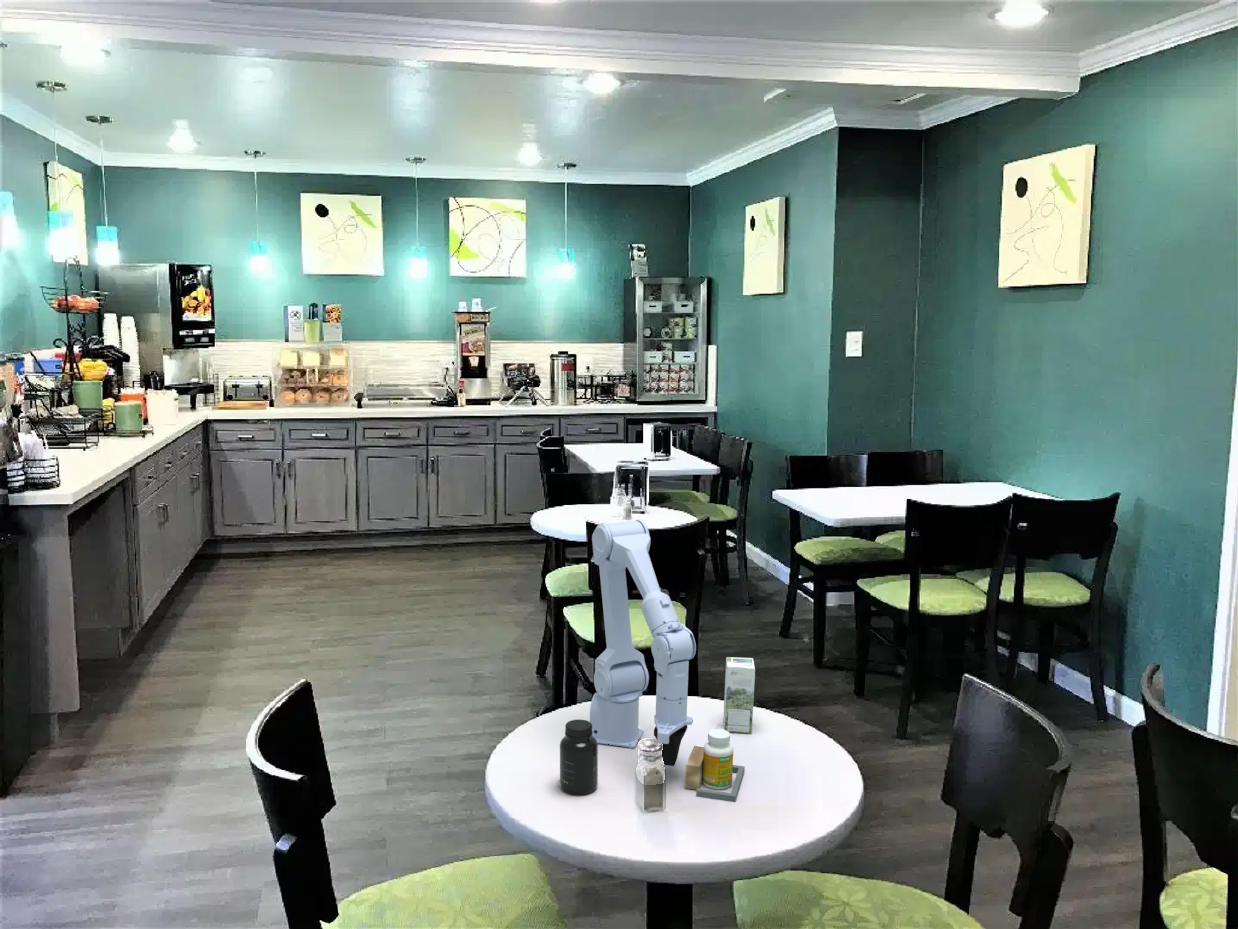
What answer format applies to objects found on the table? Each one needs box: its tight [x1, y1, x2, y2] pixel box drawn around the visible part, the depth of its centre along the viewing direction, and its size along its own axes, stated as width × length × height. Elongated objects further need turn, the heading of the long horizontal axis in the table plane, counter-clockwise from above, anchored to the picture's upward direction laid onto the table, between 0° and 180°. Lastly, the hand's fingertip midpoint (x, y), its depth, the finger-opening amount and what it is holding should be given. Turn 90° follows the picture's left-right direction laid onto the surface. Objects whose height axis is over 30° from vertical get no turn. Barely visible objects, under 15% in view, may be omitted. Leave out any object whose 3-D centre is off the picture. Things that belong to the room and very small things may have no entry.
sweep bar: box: [684, 745, 704, 791], centre depth 185 cm, size 2×8×4 cm, turn 165°
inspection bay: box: [695, 764, 746, 803], centre depth 184 cm, size 7×12×1 cm, turn 165°
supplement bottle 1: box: [559, 719, 599, 796], centre depth 180 cm, size 7×7×12 cm
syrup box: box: [722, 656, 756, 734], centre depth 207 cm, size 6×6×14 cm
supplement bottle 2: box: [702, 728, 734, 791], centre depth 183 cm, size 5×5×10 cm
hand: (669, 764), depth 186 cm, fingers closed
